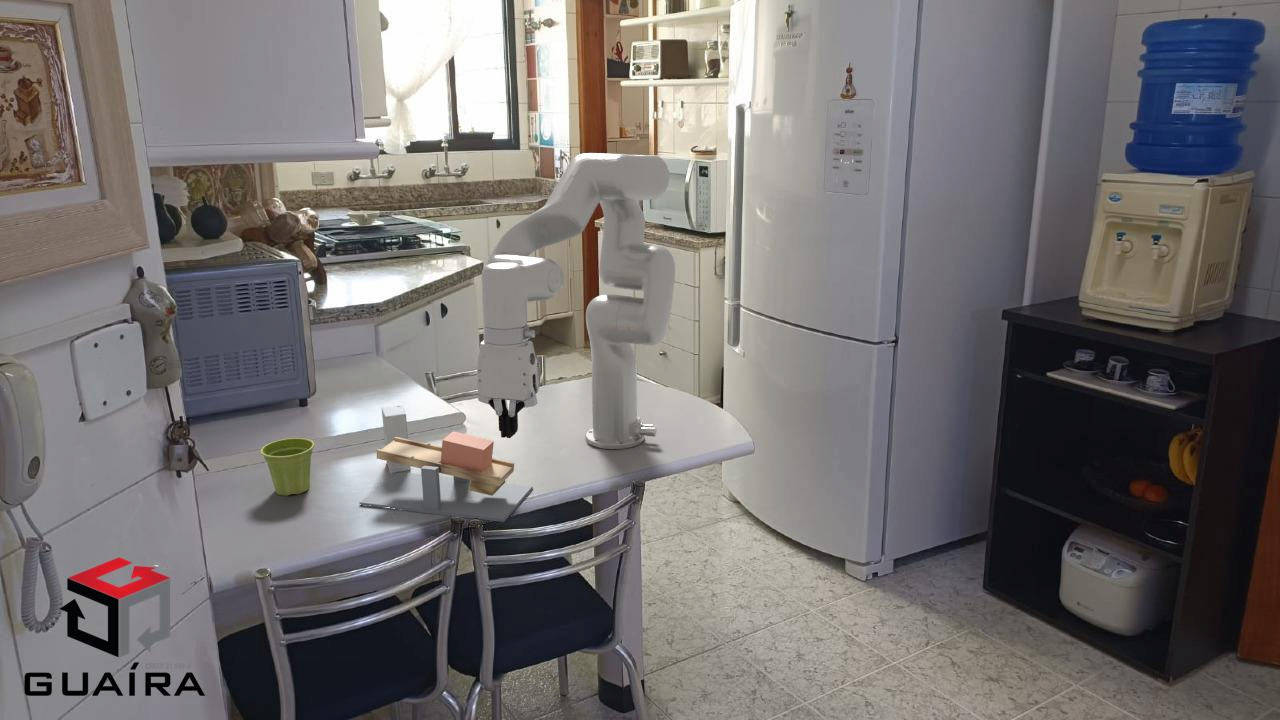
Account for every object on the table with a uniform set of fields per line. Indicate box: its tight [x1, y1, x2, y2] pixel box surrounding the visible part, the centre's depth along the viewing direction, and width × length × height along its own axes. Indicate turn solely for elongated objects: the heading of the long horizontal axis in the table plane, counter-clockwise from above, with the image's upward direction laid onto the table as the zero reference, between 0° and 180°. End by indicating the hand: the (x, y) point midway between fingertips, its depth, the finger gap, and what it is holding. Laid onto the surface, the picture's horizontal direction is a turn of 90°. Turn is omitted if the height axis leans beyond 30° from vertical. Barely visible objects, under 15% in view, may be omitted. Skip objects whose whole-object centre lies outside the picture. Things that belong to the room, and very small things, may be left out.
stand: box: [359, 466, 534, 523], centre depth 173 cm, size 28×14×8 cm, turn 76°
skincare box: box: [381, 404, 412, 474], centre depth 187 cm, size 6×4×12 cm
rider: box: [441, 431, 495, 472], centre depth 171 cm, size 8×4×4 cm, turn 76°
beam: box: [376, 437, 515, 496], centre depth 173 cm, size 24×10×4 cm, turn 76°
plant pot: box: [260, 437, 315, 497], centre depth 176 cm, size 9×9×9 cm
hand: (508, 435), depth 167 cm, fingers closed
